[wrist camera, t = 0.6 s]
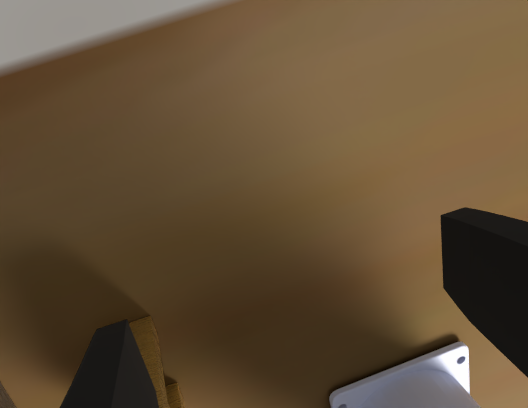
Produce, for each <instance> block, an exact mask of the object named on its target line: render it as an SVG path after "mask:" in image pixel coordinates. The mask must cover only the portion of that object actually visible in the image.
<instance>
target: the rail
mask: <svg viewBox="0 0 528 408" xmlns="http://www.w3.org/2000/svg"><path fill="white" fill-rule="evenodd" d="M0 408H16V407H15V405H14V403H13V402H12V400H11V399H10V397H9V395H8V394H7V392H6V391H5V389H4V387H3V386H2V384H1V383H0Z"/></svg>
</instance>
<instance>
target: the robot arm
mask: <svg viewBox="0 0 528 408" xmlns="http://www.w3.org/2000/svg"><path fill="white" fill-rule="evenodd" d="M441 237H442V263H443V288H444V289H445V291H446V292H447V293H448V294H449V296H450V297H451V298H452V300H453V301H454V302H455V304H456V305H457V306H458V308H459V309H460V310H461V311H462V312H463V314H464V315H465V316H466V317H467V319H468V320H469V321H470V322H471V323H472V324H473V325H474V326H475V327H476V328H477V329H478V330H479V331H480V332H481V333H482V334H483V335H484V336H485V337H486V338H487V339H488V340H489V341H490V342H491V343H492V344H493V345H494V346H495V347H496V348H497V349H498V350H500V351H501V352H502V353H503V354H504V355H505V356H506V357H507V358H508V359H509V360H510V361H511V362H512V363H513V364H514V365H515V366H516V367H517V368H518V369H519V370H520V371H522V372H523V373H524V374H525V375H526V376H527V377H528V222H526V221H522V220H518V219H514V218H510V217H506V216H503V215H498V214H494V213H490V212H486V211H481V210H476V209H471V208H461V209H458V210H455V211H452V212H449V213H446V214H443V215H441ZM329 401H330V405H331V408H481V407H480V406H479V405H478V404H477V402H476V401H475V400H474V399H473V398H472V397H471V396H470V388H469V349H468V347H467V346H466V345H465V344H464V343H463V342H456V343H453V344H451V345H448V346H446V347H443V348H441V349H438V350H436V351H433V352H430V353H428V354H425V355H423V356H420V357H418V358H415V359H413V360H410V361H408V362H405V363H403V364H400V365H398V366H395V367H393V368H390V369H387V370H385V371H382V372H380V373H377V374H375V375H372V376H370V377H367V378H365V379H362V380H360V381H357V382H355V383H352V384H350V385H347V386H344V387H342V388H339V389H337V390H335V391H333V392H332V393H331V395H330V397H329ZM341 404H342V405H341ZM60 408H159V405H158V400H157V394H156V390H155V388H154V385H153V383H152V380H151V378H150V375H149V373H148V370H147V368H146V365H145V363H144V360H143V358H142V355H141V353H140V350H139V348H138V345H137V343H136V340H135V338H134V336H133V333H132V331H131V328H130V326H129V323H128V321H127V319H126V320H123V321H120V322H117V323H114V324H111V325H108V326H105V327H102V328H99V329H97V330H96V332H95V334H94V335H93V338H92V340H91V342H90V344H89V347H88V349H87V351H86V354H85V356H84V358H83V360H82V363H81V365H80V367H79V369H78V371H77V373H76V376H75V378H74V380H73V382H72V384H71V386H70V388H69V390H68V392H67V394H66V396H65V398H64V400H63V402H62V404H61V406H60Z"/></svg>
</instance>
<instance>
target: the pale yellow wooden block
mask: <svg viewBox="0 0 528 408" xmlns="http://www.w3.org/2000/svg"><path fill="white" fill-rule="evenodd" d="M129 326H130V328H131V331H132V333H133V336H134V338H135V340H136V343H137V345H138V348H139V350H140V353H141V355H142V358H143V360H144V363H145V365H146V368H147V370H148V373H149V375H150V378H151V380H152V383H153V385H154V388H155V390H156V394H157V400H158V405H159V408H185V405H184V400H183V396H182V394H181V391H180V389H179V386H178V384H177V382H176V383H174V384H171V385H168V386H166V387H165V381H164V374H163V367H162V361H161V354H160V347H159V340H158V334H157V331H156V328H155V326H154V323H153V321H152V318H151V316H148V317H145V318H142V319H139V320H136V321H133V322H130V323H129Z"/></svg>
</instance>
